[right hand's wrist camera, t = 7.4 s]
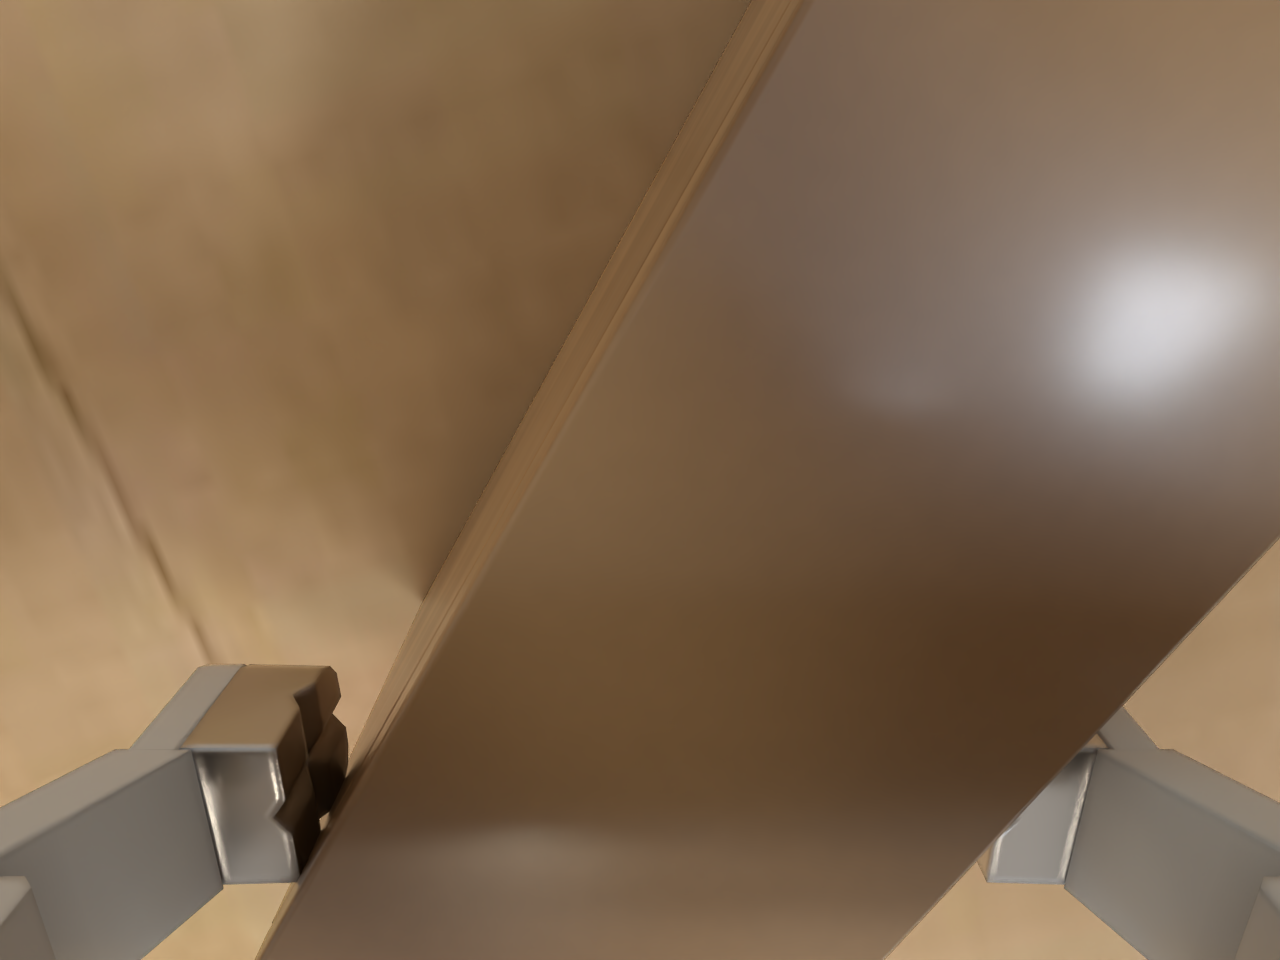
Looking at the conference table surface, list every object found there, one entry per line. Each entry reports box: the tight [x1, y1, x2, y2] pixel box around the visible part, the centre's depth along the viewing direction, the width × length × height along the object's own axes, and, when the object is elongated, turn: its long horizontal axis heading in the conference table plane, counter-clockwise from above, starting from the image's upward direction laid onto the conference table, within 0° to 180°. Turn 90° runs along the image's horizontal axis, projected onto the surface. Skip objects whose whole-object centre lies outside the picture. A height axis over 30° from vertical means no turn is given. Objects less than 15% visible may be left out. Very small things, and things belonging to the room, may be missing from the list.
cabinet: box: [255, 0, 1280, 960], centre depth 10 cm, size 19×6×8 cm, turn 150°
